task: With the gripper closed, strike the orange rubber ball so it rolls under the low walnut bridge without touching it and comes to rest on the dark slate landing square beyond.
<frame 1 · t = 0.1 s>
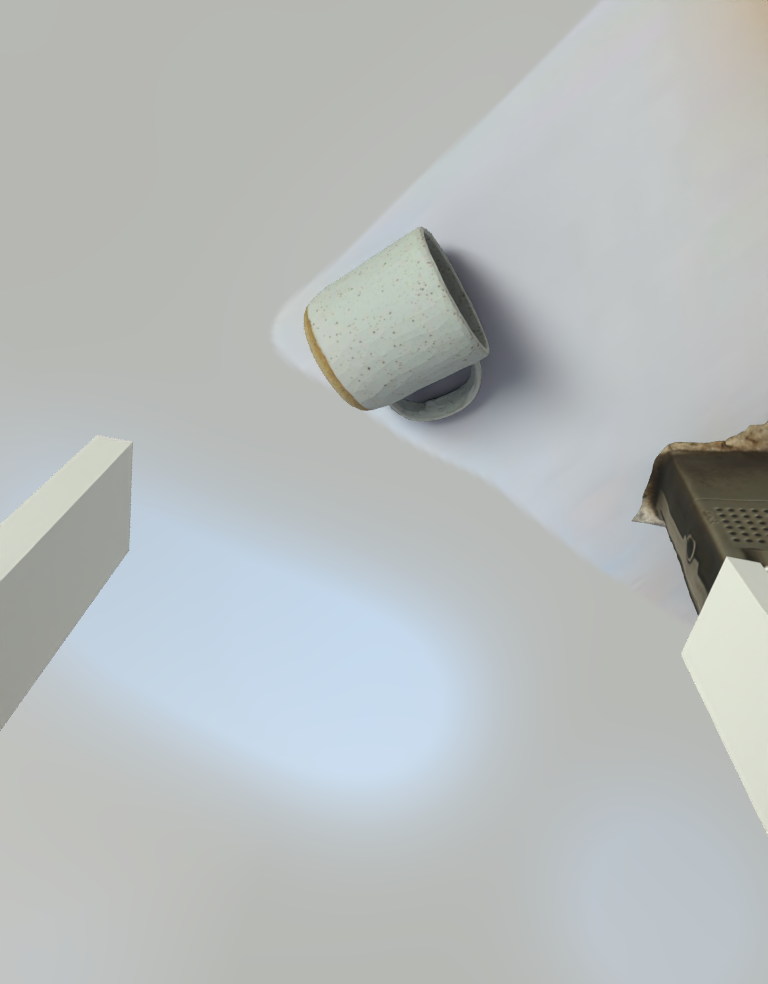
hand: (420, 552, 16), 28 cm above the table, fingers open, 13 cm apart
ceramic mug: (413, 327, 42), on the table
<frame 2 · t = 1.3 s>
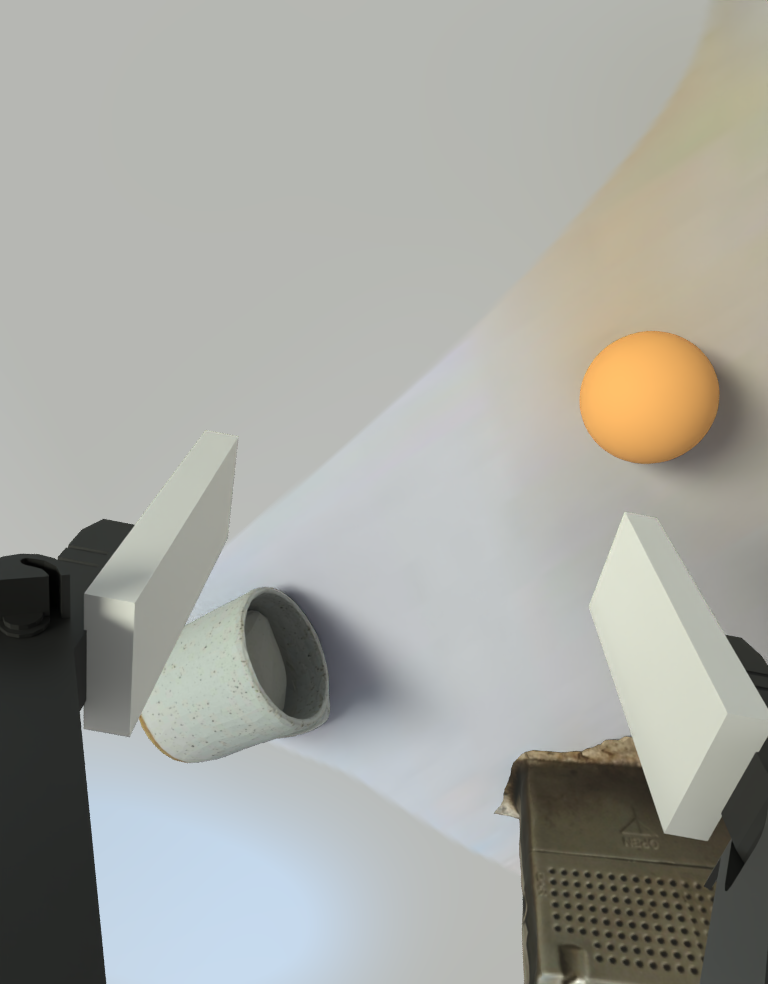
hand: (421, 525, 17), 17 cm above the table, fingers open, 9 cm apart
ball: (647, 398, 31), on the table
radio: (685, 793, 45), on the table
ceramic mug: (264, 648, 42), on the table
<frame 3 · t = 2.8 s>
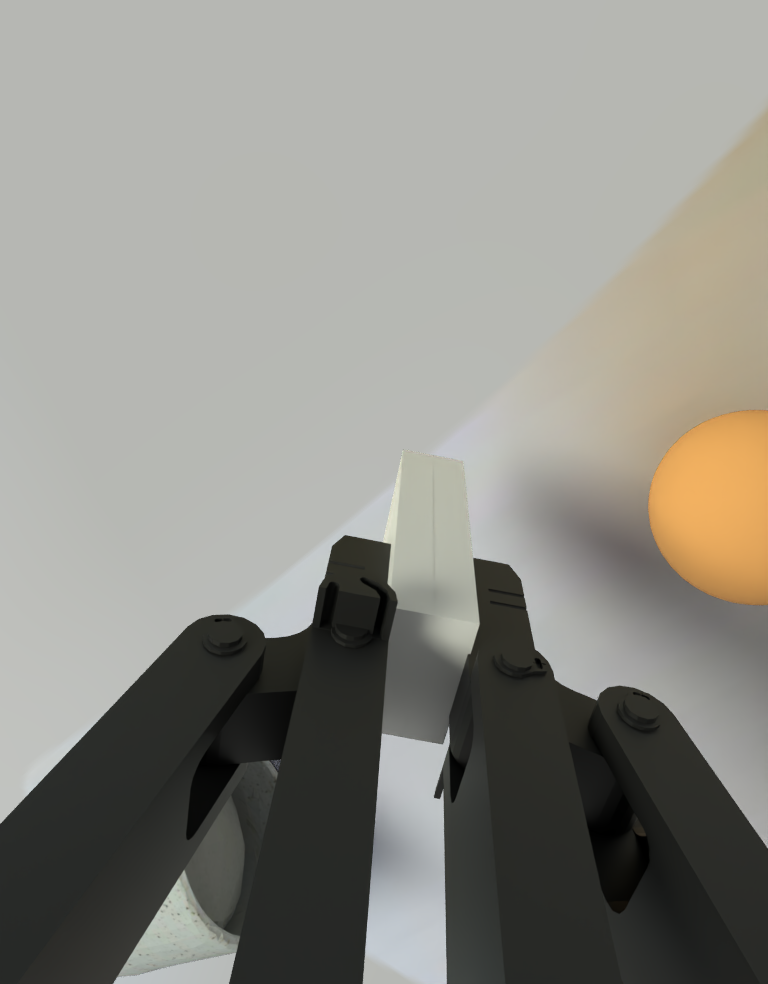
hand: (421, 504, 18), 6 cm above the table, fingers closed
ball: (751, 507, 21), on the table
ceramic mug: (219, 796, 32), on the table
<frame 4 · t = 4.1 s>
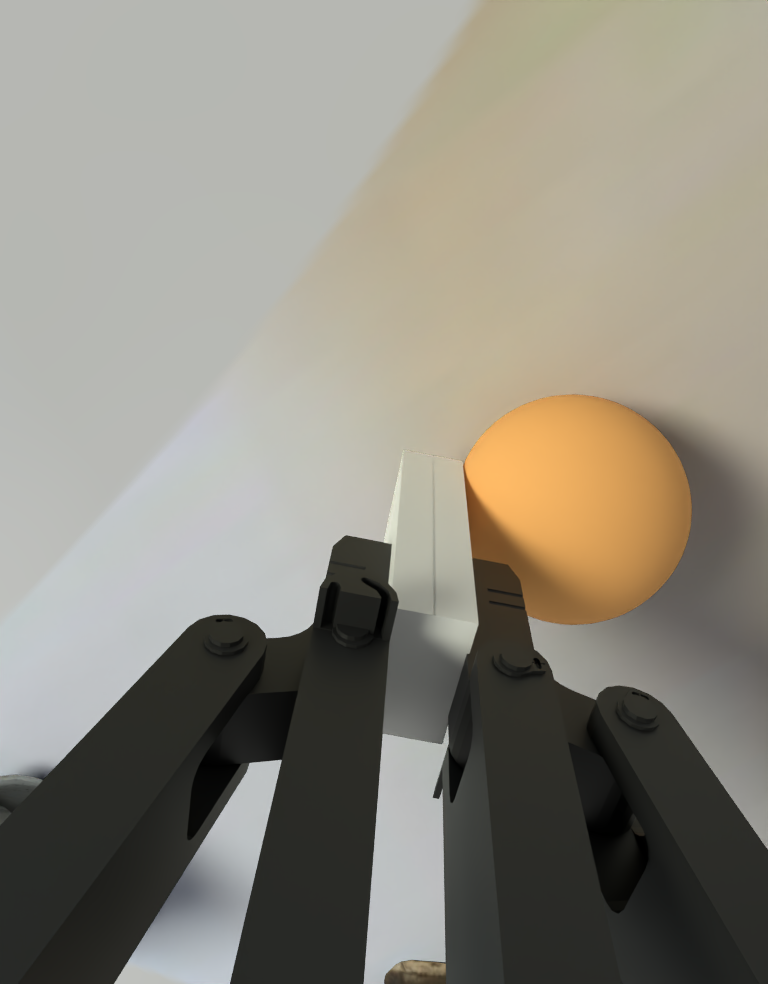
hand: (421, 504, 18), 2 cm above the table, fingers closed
ball: (568, 509, 18), on the table
ceramic mug: (31, 838, 29), on the table
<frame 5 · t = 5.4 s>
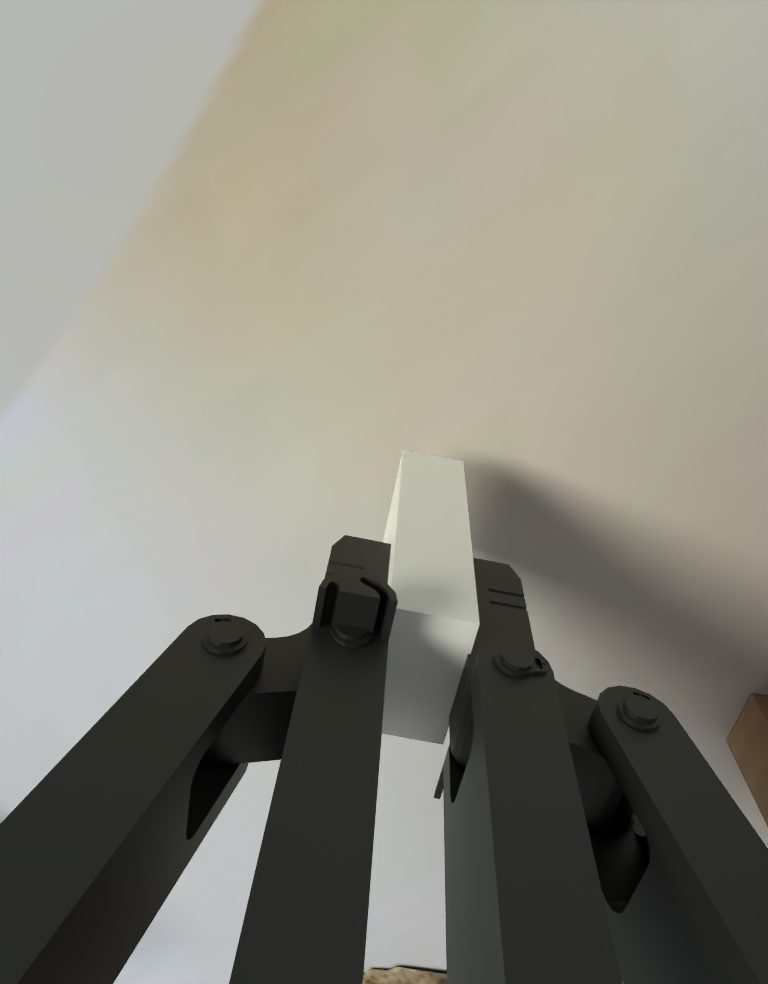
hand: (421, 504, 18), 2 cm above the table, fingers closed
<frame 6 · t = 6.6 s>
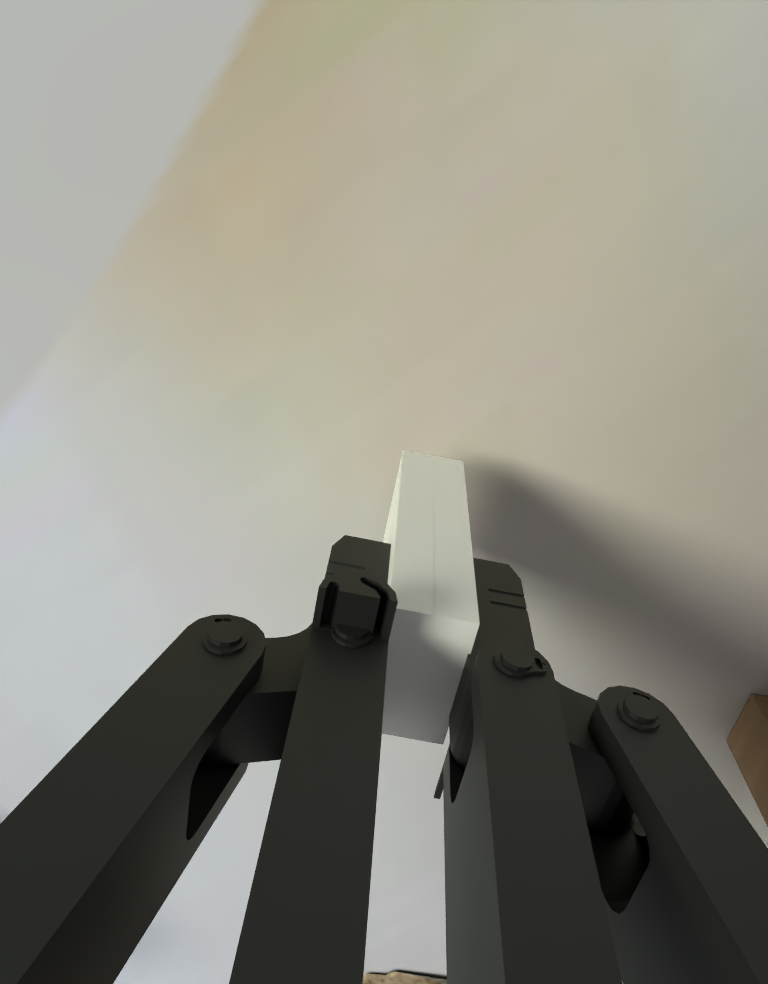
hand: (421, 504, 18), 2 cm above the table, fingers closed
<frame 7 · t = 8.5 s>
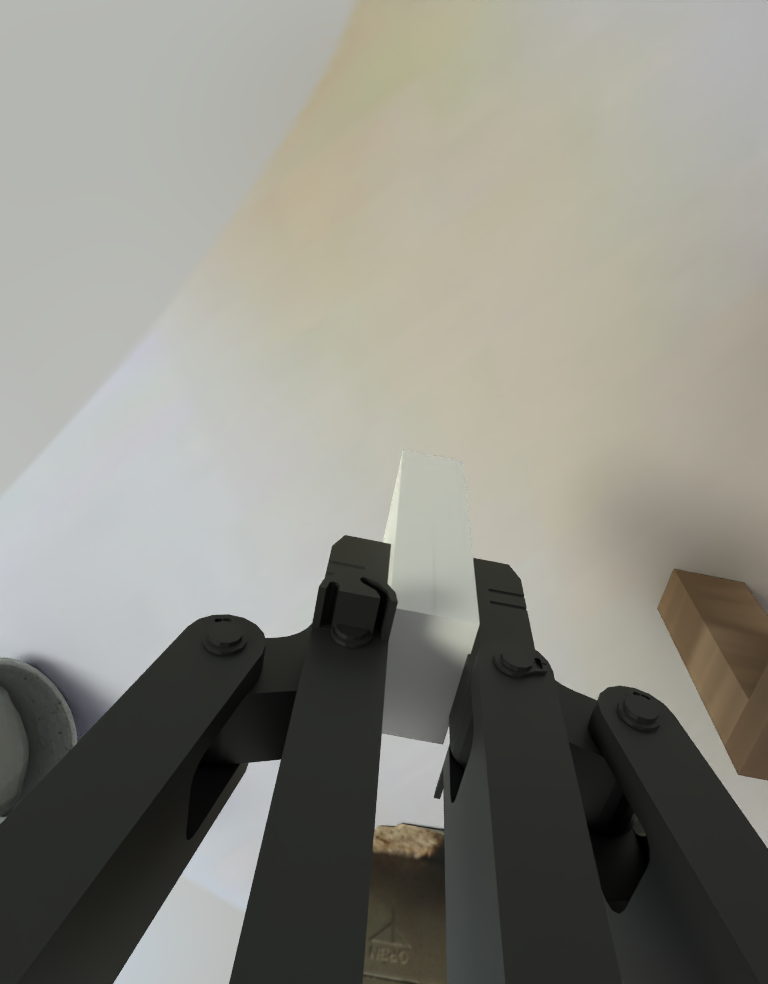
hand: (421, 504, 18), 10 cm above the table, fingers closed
radio: (475, 888, 40), on the table
ceramic mug: (20, 721, 37), on the table
bridge: (760, 461, 28), on the table
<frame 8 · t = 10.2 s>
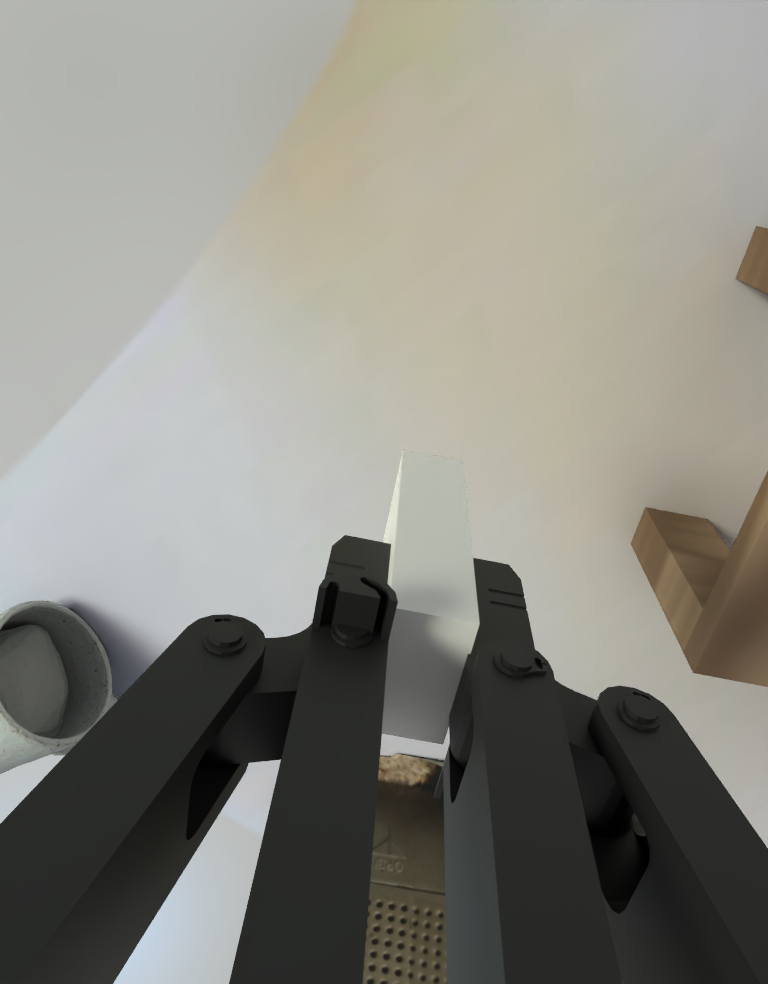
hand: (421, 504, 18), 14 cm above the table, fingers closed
radio: (463, 815, 44), on the table
ceramic mug: (58, 662, 40), on the table
bridge: (720, 408, 32), on the table
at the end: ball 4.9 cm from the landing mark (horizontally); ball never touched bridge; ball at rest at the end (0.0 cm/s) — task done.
